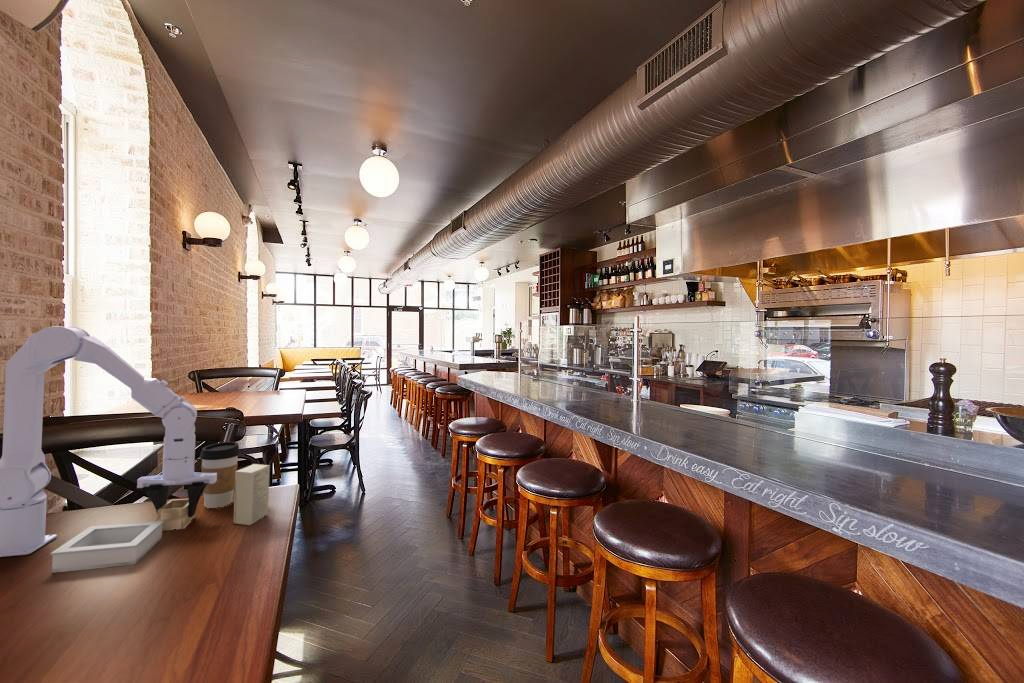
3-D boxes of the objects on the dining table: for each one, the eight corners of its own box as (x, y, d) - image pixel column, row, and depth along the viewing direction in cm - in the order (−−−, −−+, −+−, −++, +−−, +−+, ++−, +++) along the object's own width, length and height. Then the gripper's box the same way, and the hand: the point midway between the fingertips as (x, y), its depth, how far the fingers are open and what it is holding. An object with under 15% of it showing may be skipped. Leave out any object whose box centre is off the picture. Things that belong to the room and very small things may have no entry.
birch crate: (156, 531, 95) (157, 510, 95) (169, 519, 101) (170, 499, 101) (184, 528, 96) (184, 508, 96) (195, 517, 102) (195, 498, 102)
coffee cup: (246, 501, 113) (248, 443, 113) (214, 513, 105) (216, 450, 105) (222, 496, 116) (224, 440, 116) (189, 507, 108) (191, 446, 108)
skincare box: (252, 513, 106) (254, 463, 106) (269, 515, 105) (270, 464, 105) (232, 524, 99) (234, 470, 99) (249, 526, 99) (251, 472, 99)
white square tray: (49, 573, 77) (50, 553, 77) (89, 544, 88) (90, 526, 88) (135, 564, 81) (136, 545, 81) (163, 537, 92) (163, 520, 92)
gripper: (130, 463, 92) (128, 527, 92) (210, 459, 97) (208, 520, 97) (146, 454, 99) (144, 514, 99) (220, 451, 104) (218, 508, 104)
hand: (177, 516), depth 98 cm, fingers closed on birch crate, 5 cm apart
